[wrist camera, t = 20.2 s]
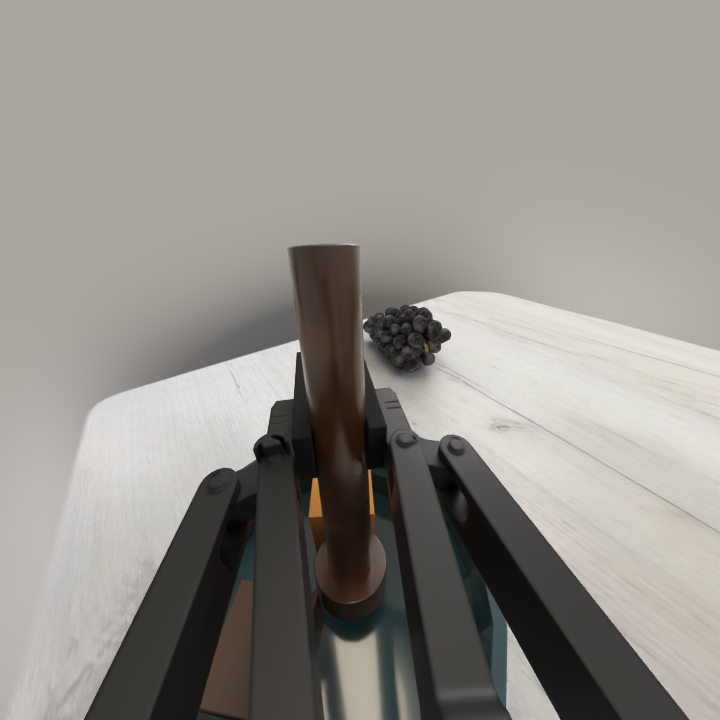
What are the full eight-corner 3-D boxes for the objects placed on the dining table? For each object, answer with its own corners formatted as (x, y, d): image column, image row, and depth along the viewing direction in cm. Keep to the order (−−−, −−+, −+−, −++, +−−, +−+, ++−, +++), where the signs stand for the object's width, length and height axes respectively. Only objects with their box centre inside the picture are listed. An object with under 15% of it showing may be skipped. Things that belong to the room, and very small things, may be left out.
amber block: (314, 547, 18) (308, 517, 16) (319, 490, 21) (314, 459, 19) (373, 544, 18) (374, 514, 16) (368, 488, 21) (369, 457, 19)
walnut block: (219, 717, 12) (188, 709, 10) (258, 603, 15) (241, 578, 13) (303, 737, 12) (289, 732, 9) (324, 615, 15) (318, 590, 13)
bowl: (104, 977, 8) (-43, 1103, 5) (229, 492, 22) (208, 449, 19) (553, 811, 11) (629, 832, 8) (415, 463, 24) (423, 420, 21)
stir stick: (322, 635, 13) (256, 244, 6) (312, 553, 16) (264, 251, 10) (398, 604, 14) (403, 239, 7) (373, 533, 17) (363, 247, 11)
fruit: (357, 283, 39) (426, 315, 28) (398, 291, 44) (470, 322, 33) (344, 336, 43) (401, 384, 32) (383, 338, 47) (444, 381, 36)
